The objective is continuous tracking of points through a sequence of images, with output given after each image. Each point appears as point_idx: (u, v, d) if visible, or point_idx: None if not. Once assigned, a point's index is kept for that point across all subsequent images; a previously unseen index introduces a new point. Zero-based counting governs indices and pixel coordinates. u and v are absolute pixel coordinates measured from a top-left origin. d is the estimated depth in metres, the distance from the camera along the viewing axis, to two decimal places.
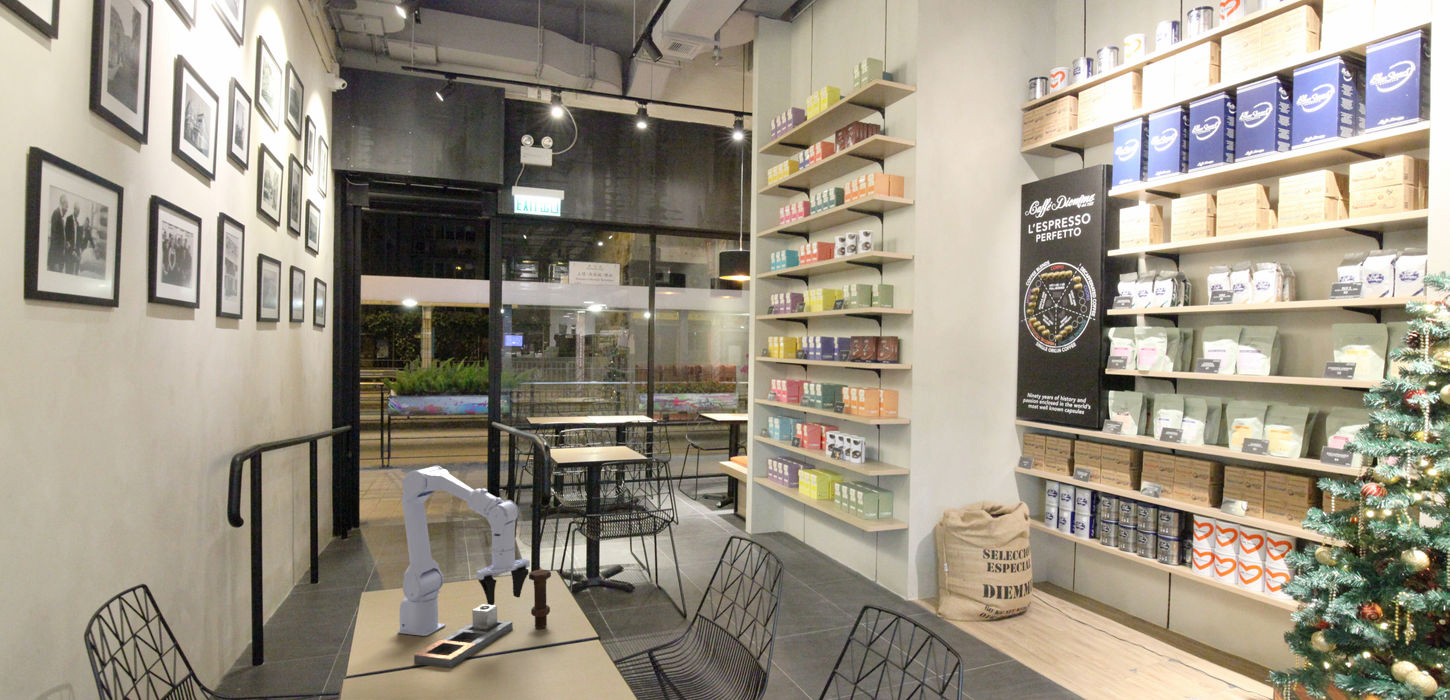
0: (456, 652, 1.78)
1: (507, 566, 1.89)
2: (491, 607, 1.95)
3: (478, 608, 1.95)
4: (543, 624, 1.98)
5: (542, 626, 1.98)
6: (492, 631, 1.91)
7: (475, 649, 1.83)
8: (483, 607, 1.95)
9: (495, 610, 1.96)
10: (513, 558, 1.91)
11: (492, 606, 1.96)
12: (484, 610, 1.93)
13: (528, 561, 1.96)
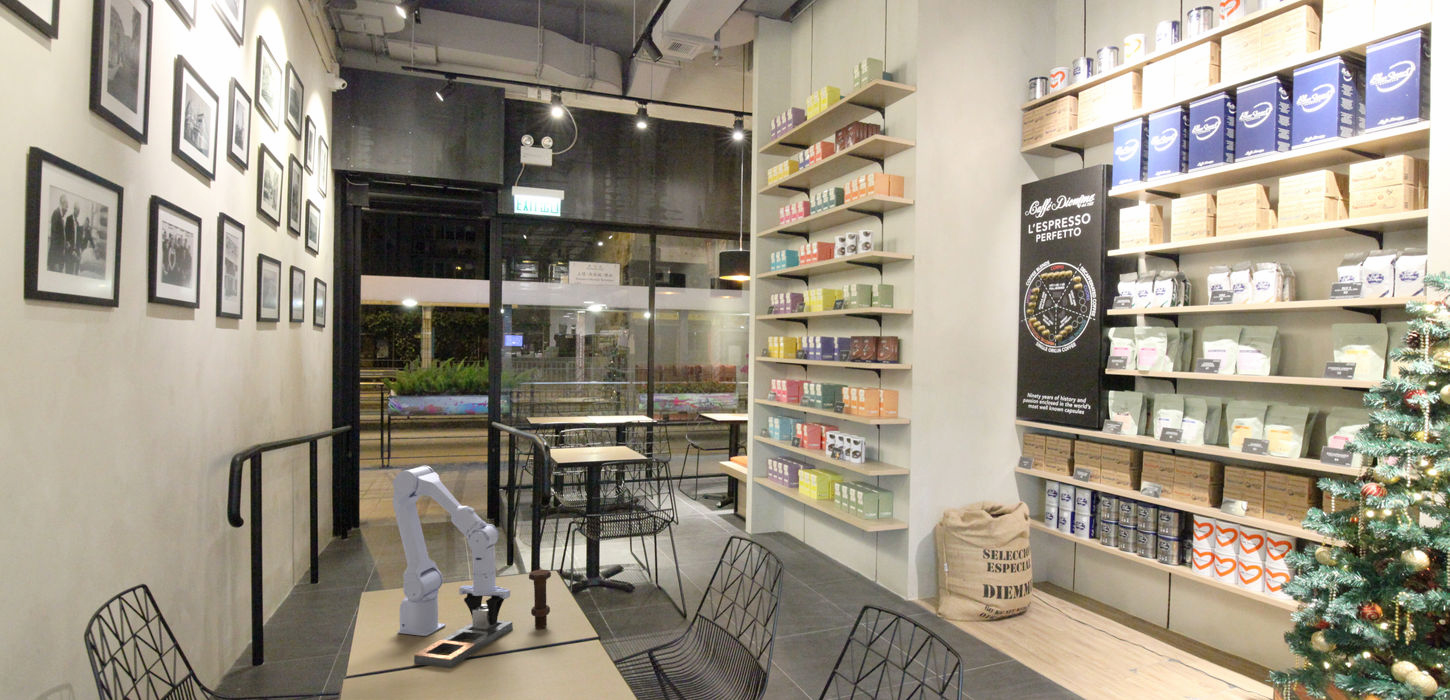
0: (456, 652, 1.78)
1: (476, 590, 1.93)
2: None
3: (478, 608, 1.95)
4: (543, 624, 1.98)
5: (542, 626, 1.98)
6: (492, 631, 1.91)
7: (475, 649, 1.83)
8: (483, 607, 1.95)
9: None
10: (483, 584, 1.92)
11: None
12: (484, 610, 1.93)
13: (504, 593, 1.92)
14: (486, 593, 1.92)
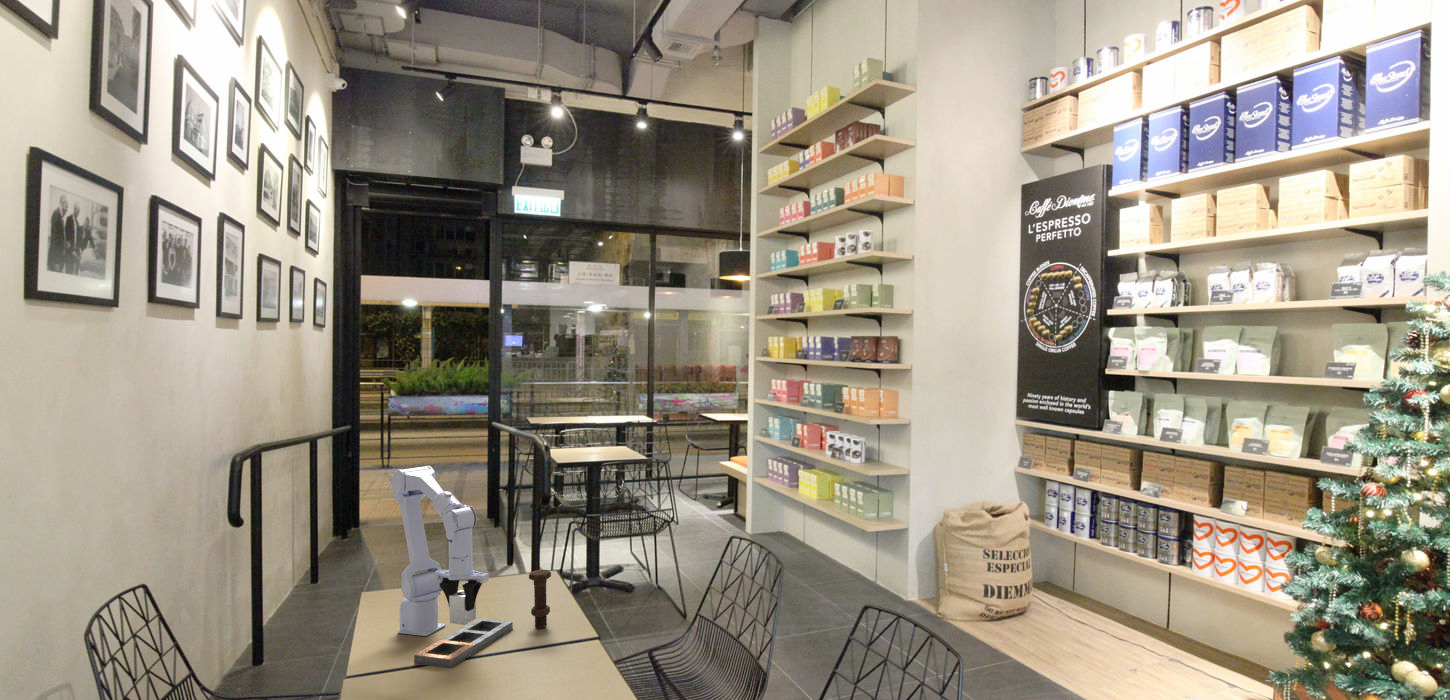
0: (456, 652, 1.78)
1: (452, 574, 1.83)
2: None
3: (455, 594, 1.86)
4: (543, 624, 1.98)
5: (542, 626, 1.98)
6: (492, 631, 1.91)
7: (475, 649, 1.83)
8: (461, 593, 1.86)
9: None
10: (459, 568, 1.83)
11: None
12: (461, 596, 1.84)
13: (482, 577, 1.83)
14: (462, 577, 1.83)
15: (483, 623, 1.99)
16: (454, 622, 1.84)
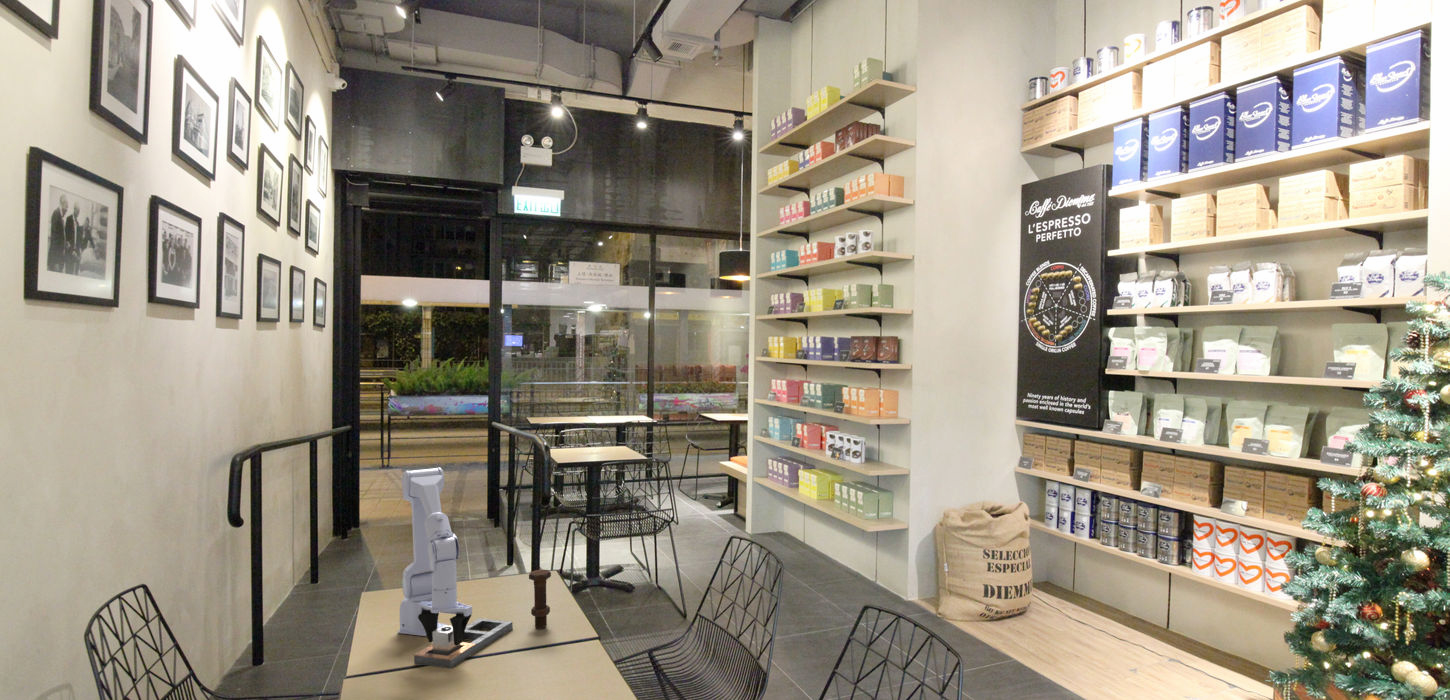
0: (456, 652, 1.78)
1: (435, 607, 1.77)
2: None
3: (439, 629, 1.80)
4: (543, 624, 1.98)
5: (542, 626, 1.98)
6: (492, 631, 1.91)
7: (475, 649, 1.83)
8: (444, 628, 1.80)
9: None
10: (443, 600, 1.77)
11: None
12: (445, 632, 1.78)
13: (465, 610, 1.77)
14: (446, 610, 1.77)
15: (483, 623, 1.99)
16: None
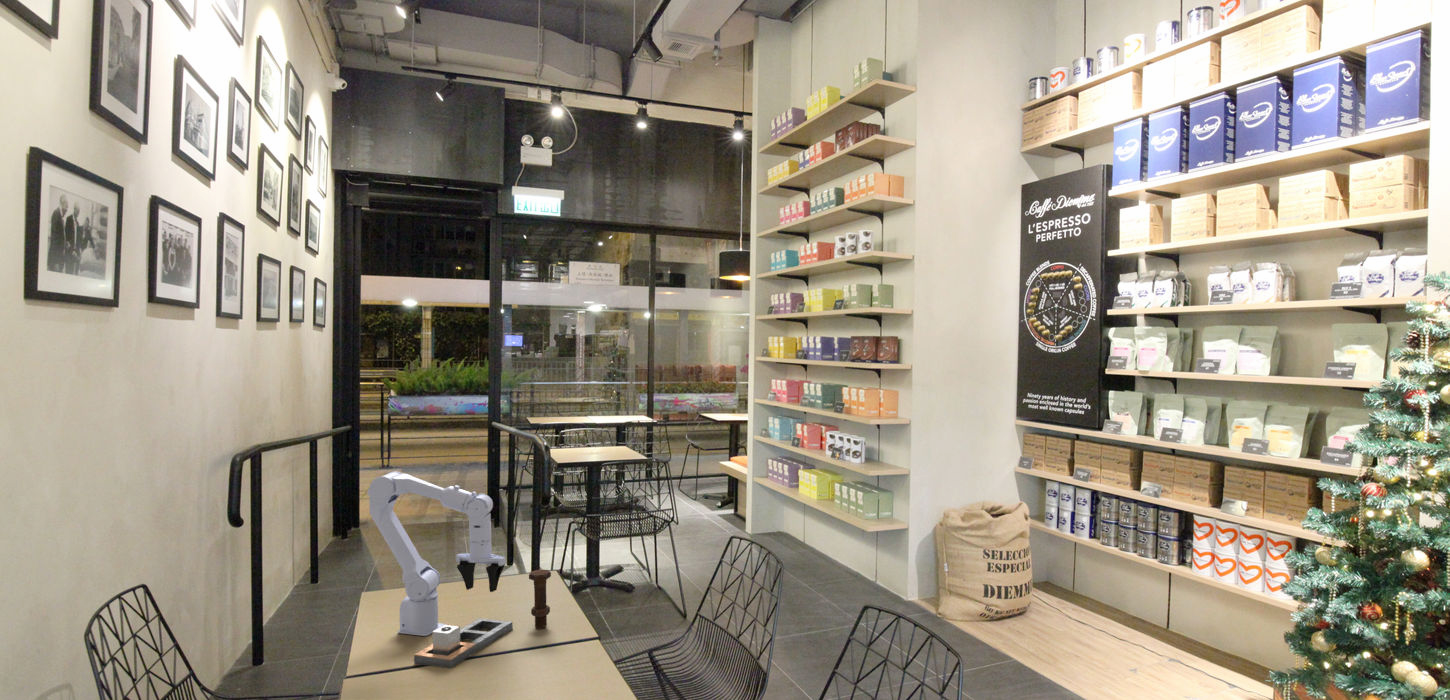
0: (456, 652, 1.78)
1: (472, 557, 1.97)
2: (453, 628, 1.80)
3: (439, 629, 1.80)
4: (543, 624, 1.98)
5: (542, 626, 1.98)
6: (492, 631, 1.91)
7: (475, 649, 1.83)
8: (444, 628, 1.80)
9: (458, 631, 1.81)
10: (479, 551, 1.97)
11: (454, 627, 1.81)
12: (445, 632, 1.78)
13: (500, 560, 1.96)
14: (482, 560, 1.96)
15: (483, 623, 1.99)
16: None
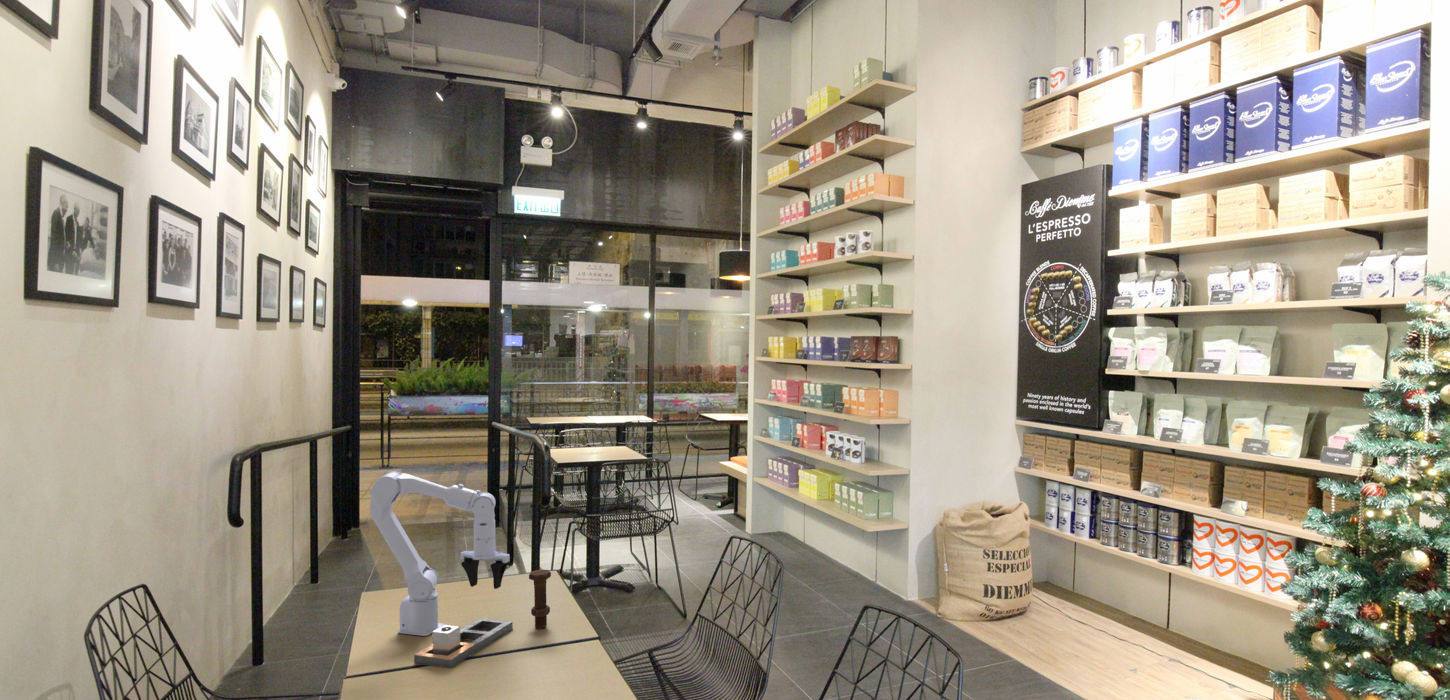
0: (456, 652, 1.78)
1: (476, 554, 2.00)
2: (453, 628, 1.80)
3: (439, 629, 1.80)
4: (543, 624, 1.98)
5: (542, 626, 1.98)
6: (492, 631, 1.91)
7: (475, 649, 1.83)
8: (444, 628, 1.80)
9: (458, 632, 1.81)
10: (484, 549, 1.99)
11: (454, 627, 1.81)
12: (445, 632, 1.78)
13: (504, 557, 1.99)
14: (486, 557, 1.99)
15: (483, 623, 1.99)
16: None
